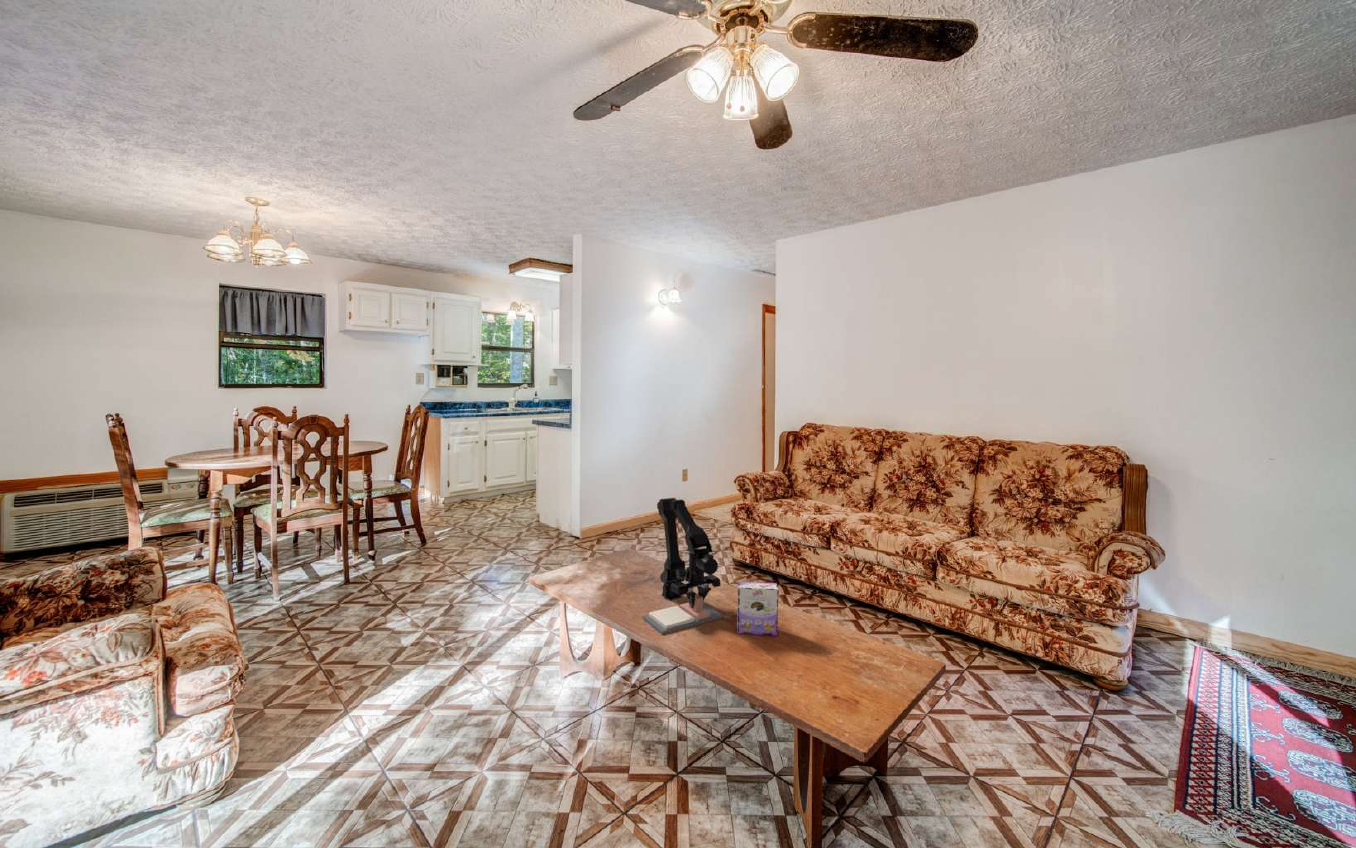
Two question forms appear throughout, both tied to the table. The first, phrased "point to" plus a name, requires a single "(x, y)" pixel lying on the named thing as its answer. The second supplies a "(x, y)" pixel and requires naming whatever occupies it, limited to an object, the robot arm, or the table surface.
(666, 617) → the spiral notepad
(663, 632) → the mat
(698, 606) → the stub
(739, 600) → the candy box
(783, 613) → the table surface
